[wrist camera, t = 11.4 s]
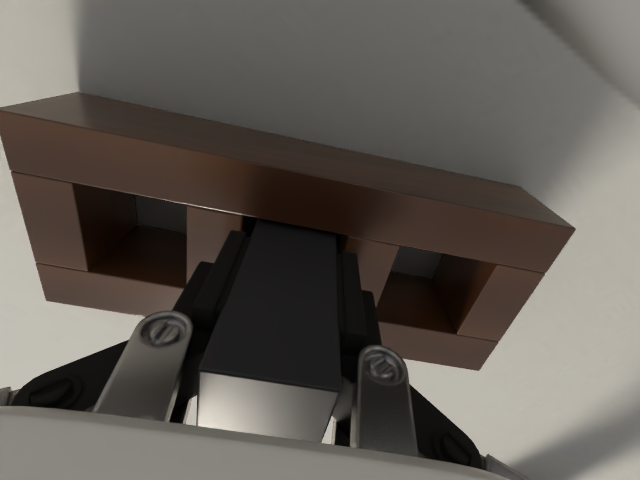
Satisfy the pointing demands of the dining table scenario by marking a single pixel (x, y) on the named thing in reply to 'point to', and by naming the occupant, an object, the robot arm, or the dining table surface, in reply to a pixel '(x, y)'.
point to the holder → (268, 218)
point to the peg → (276, 339)
